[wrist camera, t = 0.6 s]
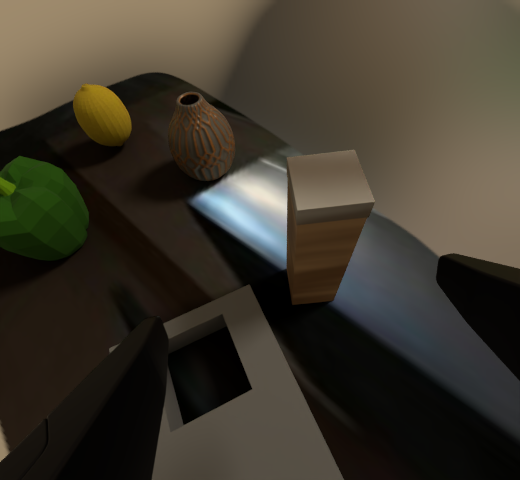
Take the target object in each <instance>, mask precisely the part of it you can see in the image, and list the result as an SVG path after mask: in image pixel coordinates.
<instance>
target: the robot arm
mask: <svg viewBox="0 0 520 480" xmlns="http://www.w3.org/2000/svg"><path fill="white" fill-rule="evenodd" d="M436 280H437V283H438V285H439V286H440V288H441V289H442V290H443V292H444V293H445V294H446V296H447V297H448V298H449V300H450V301H451V302H452V304H453V305H454V306H455V308H456V309H457V310H458V312H459V313H460V314H461V316H462V317H463V318H464V319H465V321H466V322H467V323H468V324H469V326H470V327H471V328H472V329H473V330H474V331H475V332H476V333H477V335H478V336H479V337H480V338H481V339H482V340H483V341H484V342H485V343H486V344H487V345H488V347H489V348H490V349H491V350H492V351H493V352H494V353H495V354H496V355H497V356H498V358H499V359H500V360H501V361H502V362H503V363H504V364H505V365H506V366H507V367H508V368H509V370H510V371H511V372H512V373H513V374H514V375H515V376H516V377H517V378H518V379H519V381H520V269H518V268H514V267H510V266H506V265H502V264H497V263H493V262H489V261H485V260H481V259H476V258H472V257H468V256H464V255H459V254H454V253H453V254H447V255H443V256H441V257H440V258H439V260H438V267H437V274H436ZM168 351H169V338H168V335H167V332H166V330H165V327H164V325H163V322H162V320H161V318H160V317H159V316H154V317H149V318H145V319H144V320H143V321H142V322H141V323H140V324H139V325H138V326H137V327H136V328H135V329H134V330H133V331H132V332H131V333H130V334H129V335H128V336H127V337H126V338H125V339H124V340H123V341H122V342H121V343H120V344H119V345H118V346H117V347H116V348H115V349H114V350H113V351H112V352H111V353H110V354H109V355H108V356H107V357H106V358H105V359H104V360H103V361H102V362H101V363H100V364H99V365H98V366H97V367H96V368H95V369H94V370H93V371H92V372H91V373H90V374H89V375H88V376H87V377H86V378H85V379H84V380H83V381H82V382H81V383H80V384H79V385H78V386H77V387H76V388H75V389H74V390H73V391H72V392H71V393H70V394H69V395H68V396H67V397H66V398H65V399H64V400H63V401H62V402H61V403H60V404H59V405H58V406H57V407H56V408H55V409H54V410H53V411H52V412H51V413H50V414H49V415H48V416H47V419H44V420H43V421H42V422H41V423H40V424H39V425H38V426H37V427H36V428H35V429H34V430H33V431H32V432H31V433H30V434H29V435H28V436H27V437H26V438H25V439H24V440H23V441H22V442H21V443H20V444H19V445H18V446H17V447H15V448H14V449H13V450H12V451H11V452H10V453H9V454H8V455H7V456H6V457H5V458H4V459H3V460H2V461H1V462H0V480H152V475H153V469H154V463H155V457H156V451H157V445H158V439H159V433H160V427H161V421H162V415H163V409H164V403H165V396H166V387H167V370H168Z"/></svg>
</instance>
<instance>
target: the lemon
mask: <svg viewBox="0 0 520 480" xmlns="http://www.w3.org/2000/svg"><path fill="white" fill-rule="evenodd" d="M73 107H74V112H75V115H76V118H77V120H78V122H79V124H80V126H81V127H82V129H83V130H84V131H85V133H86V134H87V135H88V136H89V137H90V138H91V139H93V140H94V141H96V142H97V143H99V144H101V145H105V146H122V145H123V143H124V142H125V141H126V140H127V139H128V137H129V136H130V133H131V120H130V116H129V113H128V111H127V109H126V108H125V106H124V105H123V103H122V102H121V100H120V99H119V98H118V97H117V96H116V95H115V94H114V93H113V92H112V91H110V90H109V89H107V88H105V87H102V86H99V85H89V84H83V85H82V87H81V89H80V90H79V91H78V92H77V93H76V95H75V97H74V101H73Z"/></svg>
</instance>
